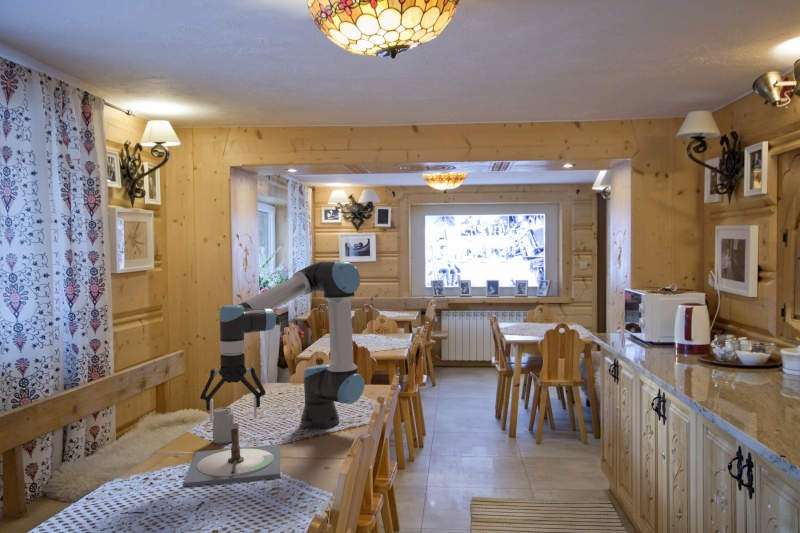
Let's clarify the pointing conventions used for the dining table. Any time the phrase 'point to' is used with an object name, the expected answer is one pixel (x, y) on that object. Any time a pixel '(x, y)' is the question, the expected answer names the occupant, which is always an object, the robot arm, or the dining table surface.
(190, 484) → the dial board
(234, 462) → the dial pointer knob
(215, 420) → the can
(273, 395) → the dining table surface
